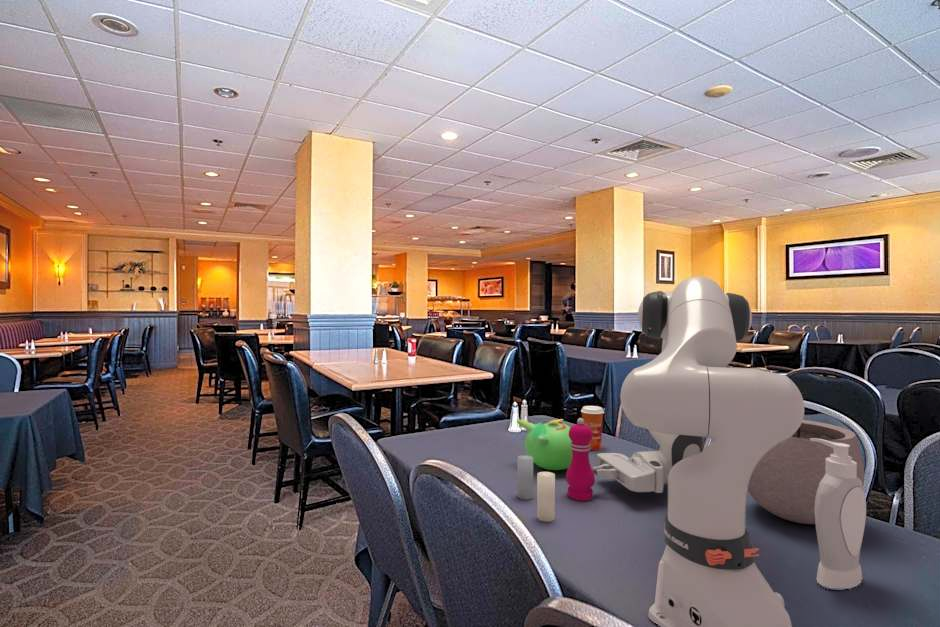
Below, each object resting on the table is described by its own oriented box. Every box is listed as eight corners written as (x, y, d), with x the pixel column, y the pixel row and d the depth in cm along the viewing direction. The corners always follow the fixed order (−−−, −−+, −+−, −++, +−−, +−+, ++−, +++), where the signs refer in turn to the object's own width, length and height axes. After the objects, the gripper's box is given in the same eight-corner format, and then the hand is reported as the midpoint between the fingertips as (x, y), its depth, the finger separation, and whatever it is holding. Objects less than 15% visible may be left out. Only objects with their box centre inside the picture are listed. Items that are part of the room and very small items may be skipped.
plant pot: (783, 492, 129) (785, 377, 129) (889, 531, 107) (891, 392, 106) (714, 505, 120) (716, 382, 120) (814, 550, 98) (816, 400, 98)
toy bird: (592, 474, 143) (592, 423, 142) (541, 481, 136) (541, 428, 136) (558, 456, 159) (559, 411, 159) (511, 462, 153) (512, 415, 153)
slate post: (535, 499, 124) (535, 459, 124) (519, 500, 123) (519, 460, 123) (530, 493, 128) (530, 454, 128) (515, 494, 127) (515, 455, 127)
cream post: (557, 521, 111) (557, 476, 111) (540, 522, 111) (540, 478, 111) (551, 513, 115) (551, 471, 115) (534, 515, 115) (534, 472, 114)
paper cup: (579, 450, 166) (579, 409, 166) (581, 444, 173) (581, 404, 173) (603, 452, 164) (604, 410, 163) (604, 446, 171) (604, 406, 171)
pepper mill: (573, 502, 122) (574, 422, 121) (560, 492, 129) (561, 415, 128) (600, 499, 124) (600, 420, 123) (585, 489, 131) (586, 414, 130)
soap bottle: (829, 560, 94) (831, 433, 94) (877, 580, 87) (879, 443, 87) (787, 575, 89) (788, 441, 89) (834, 598, 82) (835, 452, 82)
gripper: (625, 446, 139) (578, 448, 137) (666, 469, 119) (613, 472, 117) (625, 468, 139) (578, 471, 137) (666, 495, 119) (613, 499, 117)
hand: (594, 472), depth 127 cm, fingers closed
